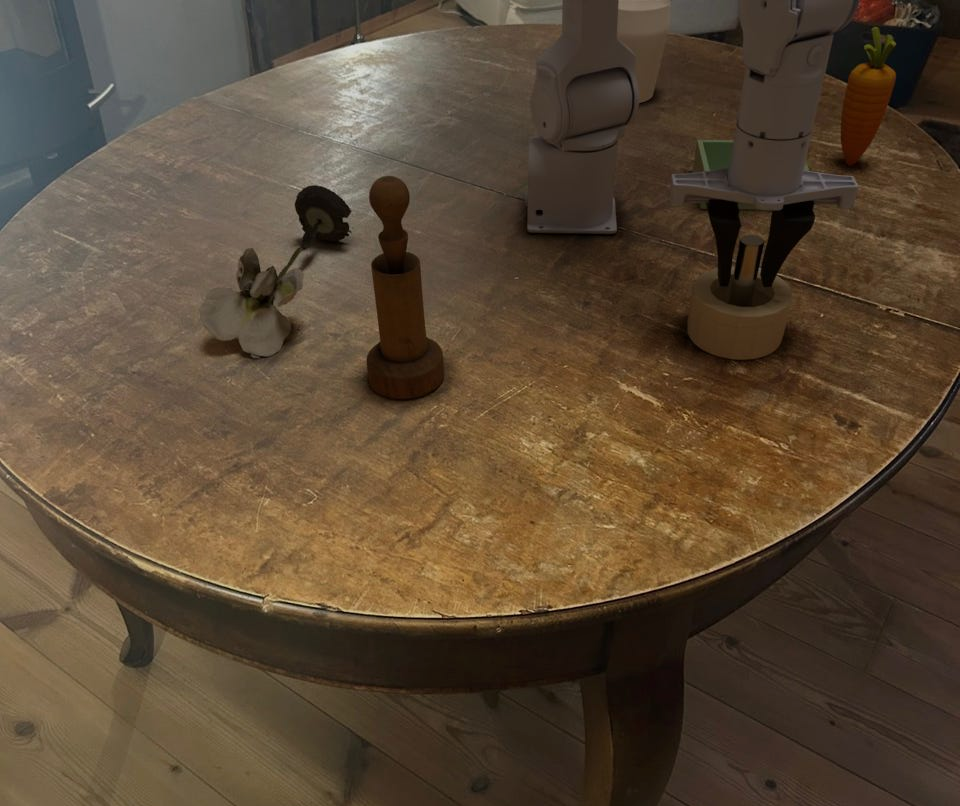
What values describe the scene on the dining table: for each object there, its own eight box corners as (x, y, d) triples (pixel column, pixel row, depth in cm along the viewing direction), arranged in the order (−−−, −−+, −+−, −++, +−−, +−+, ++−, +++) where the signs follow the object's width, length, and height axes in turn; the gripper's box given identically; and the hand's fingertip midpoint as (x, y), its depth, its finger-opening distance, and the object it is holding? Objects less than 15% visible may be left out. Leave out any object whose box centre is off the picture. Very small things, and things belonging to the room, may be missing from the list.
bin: (700, 209, 102) (705, 174, 99) (692, 172, 109) (697, 139, 106) (803, 210, 101) (811, 175, 99) (789, 173, 108) (796, 140, 105)
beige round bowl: (691, 358, 81) (698, 315, 78) (683, 307, 88) (689, 264, 85) (789, 361, 81) (799, 317, 78) (773, 309, 87) (783, 266, 84)
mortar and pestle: (405, 346, 84) (387, 153, 72) (459, 372, 81) (450, 175, 69) (353, 381, 80) (324, 183, 68) (408, 410, 77) (388, 208, 65)
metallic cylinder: (725, 336, 83) (742, 248, 77) (722, 319, 85) (737, 231, 79) (748, 337, 83) (766, 248, 77) (744, 320, 85) (761, 232, 79)
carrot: (874, 176, 107) (911, 39, 97) (829, 173, 108) (862, 37, 98) (869, 158, 111) (905, 24, 101) (826, 155, 112) (857, 22, 101)
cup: (585, 88, 129) (590, -5, 121) (644, 80, 131) (653, -13, 123) (611, 111, 123) (618, 14, 115) (672, 102, 125) (684, 6, 117)
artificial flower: (372, 254, 99) (382, 177, 91) (267, 394, 85) (268, 318, 77) (297, 222, 99) (301, 142, 91) (181, 356, 86) (173, 276, 78)
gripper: (683, 146, 69) (663, 303, 78) (883, 147, 68) (839, 307, 77) (675, 109, 74) (657, 261, 83) (861, 110, 73) (822, 264, 82)
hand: (744, 280), depth 81 cm, fingers open, 3 cm apart
